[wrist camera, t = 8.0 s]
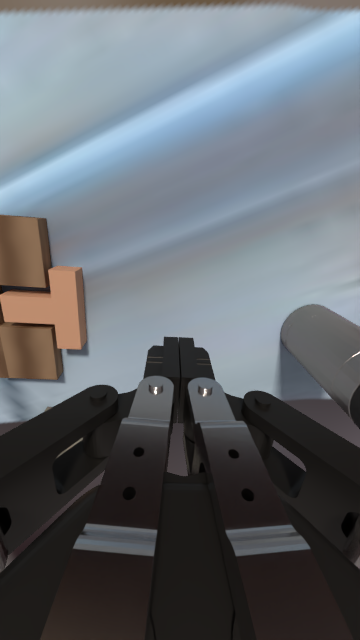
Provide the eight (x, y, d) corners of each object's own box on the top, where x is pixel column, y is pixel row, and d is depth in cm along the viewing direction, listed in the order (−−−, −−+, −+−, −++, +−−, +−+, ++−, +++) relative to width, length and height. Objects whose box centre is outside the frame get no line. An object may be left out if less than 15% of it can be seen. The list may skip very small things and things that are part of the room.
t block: (81, 267, 37) (74, 271, 34) (86, 340, 41) (81, 349, 38) (6, 262, 36) (-7, 266, 33) (20, 337, 40) (9, 346, 38)
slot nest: (46, 218, 34) (37, 218, 32) (63, 370, 43) (57, 379, 41) (-29, 212, 33) (-43, 211, 31) (5, 368, 42) (-4, 377, 40)
